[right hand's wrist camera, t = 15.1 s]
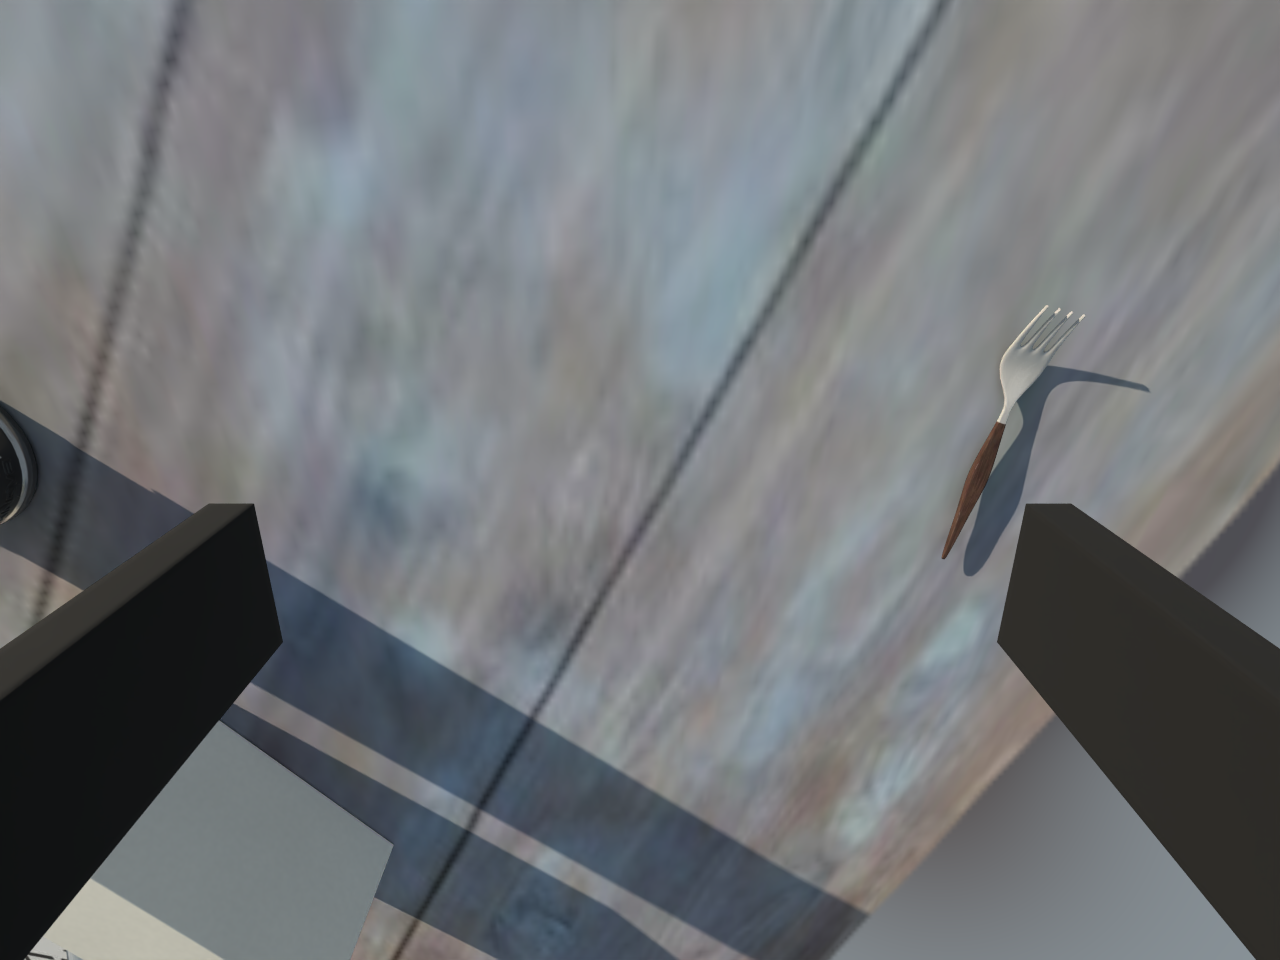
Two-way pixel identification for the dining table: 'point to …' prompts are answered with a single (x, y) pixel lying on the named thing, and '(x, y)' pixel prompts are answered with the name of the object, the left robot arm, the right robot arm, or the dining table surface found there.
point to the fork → (1006, 410)
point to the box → (230, 869)
